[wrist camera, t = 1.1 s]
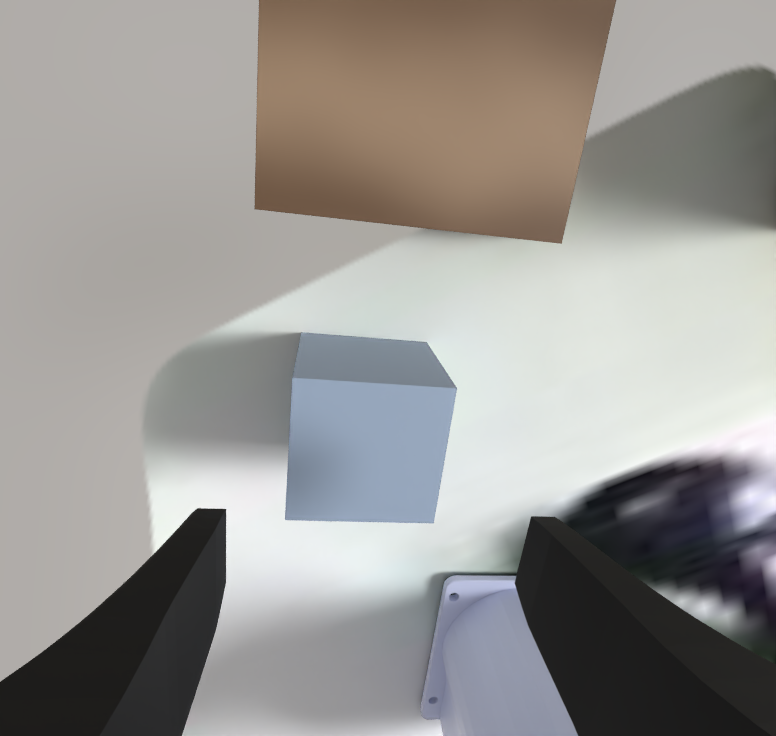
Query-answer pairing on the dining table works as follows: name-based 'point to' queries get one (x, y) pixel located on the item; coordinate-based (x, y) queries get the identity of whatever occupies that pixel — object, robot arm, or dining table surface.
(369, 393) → the slate cube
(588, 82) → the walnut base
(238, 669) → the dining table surface
